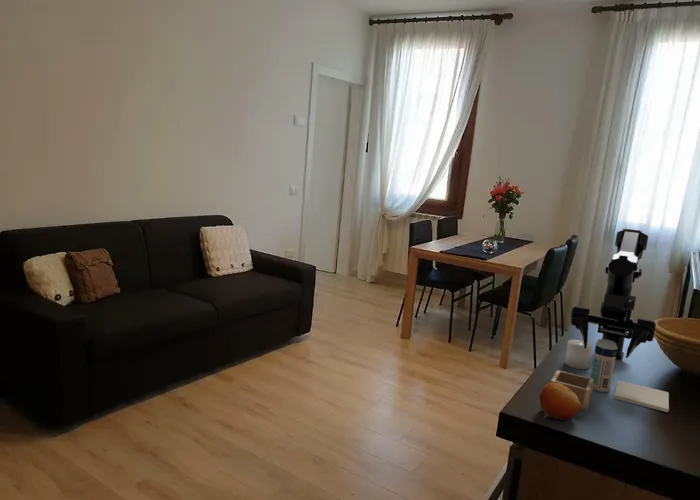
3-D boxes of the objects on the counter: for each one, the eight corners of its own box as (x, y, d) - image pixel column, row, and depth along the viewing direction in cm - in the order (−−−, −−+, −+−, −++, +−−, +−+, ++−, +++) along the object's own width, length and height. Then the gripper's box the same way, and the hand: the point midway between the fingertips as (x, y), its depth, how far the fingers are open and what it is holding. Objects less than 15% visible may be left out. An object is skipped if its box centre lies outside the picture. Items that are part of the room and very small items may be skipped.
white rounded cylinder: (566, 358, 150) (569, 338, 149) (590, 364, 147) (593, 343, 146) (563, 365, 145) (566, 343, 144) (587, 370, 142) (590, 349, 141)
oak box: (554, 389, 128) (557, 369, 127) (590, 399, 124) (594, 379, 123) (547, 401, 121) (551, 380, 120) (586, 412, 117) (589, 390, 116)
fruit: (524, 398, 118) (548, 370, 117) (553, 418, 119) (576, 391, 118) (536, 416, 110) (561, 386, 109) (566, 437, 111) (591, 408, 110)
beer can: (612, 390, 130) (620, 342, 128) (606, 395, 127) (614, 346, 125) (592, 383, 134) (600, 337, 132) (585, 388, 130) (593, 340, 128)
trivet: (617, 383, 135) (618, 380, 135) (668, 395, 130) (668, 392, 130) (613, 398, 126) (614, 395, 125) (668, 412, 120) (668, 409, 120)
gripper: (577, 274, 136) (564, 326, 129) (662, 288, 127) (653, 345, 120) (577, 299, 144) (564, 349, 137) (657, 314, 135) (648, 368, 128)
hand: (605, 352), depth 130 cm, fingers open, 9 cm apart
